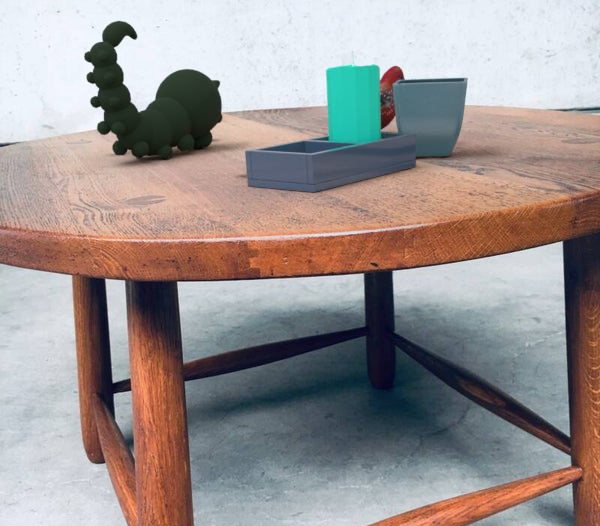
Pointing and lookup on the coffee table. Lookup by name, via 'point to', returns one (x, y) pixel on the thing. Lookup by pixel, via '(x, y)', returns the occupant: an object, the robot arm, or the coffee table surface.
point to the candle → (354, 103)
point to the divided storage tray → (328, 162)
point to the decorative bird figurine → (388, 94)
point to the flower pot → (431, 112)
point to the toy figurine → (152, 104)
